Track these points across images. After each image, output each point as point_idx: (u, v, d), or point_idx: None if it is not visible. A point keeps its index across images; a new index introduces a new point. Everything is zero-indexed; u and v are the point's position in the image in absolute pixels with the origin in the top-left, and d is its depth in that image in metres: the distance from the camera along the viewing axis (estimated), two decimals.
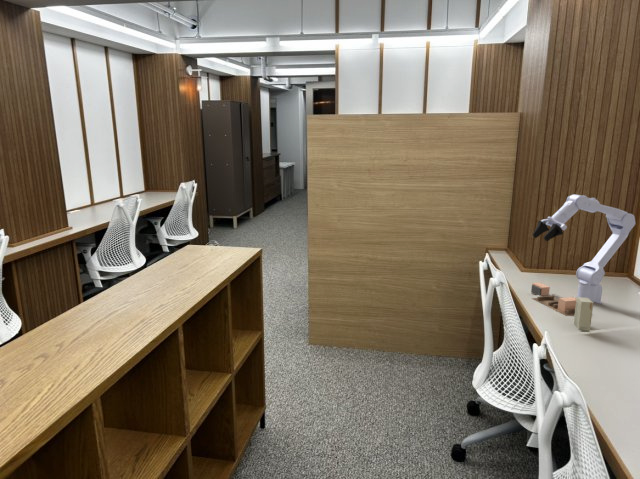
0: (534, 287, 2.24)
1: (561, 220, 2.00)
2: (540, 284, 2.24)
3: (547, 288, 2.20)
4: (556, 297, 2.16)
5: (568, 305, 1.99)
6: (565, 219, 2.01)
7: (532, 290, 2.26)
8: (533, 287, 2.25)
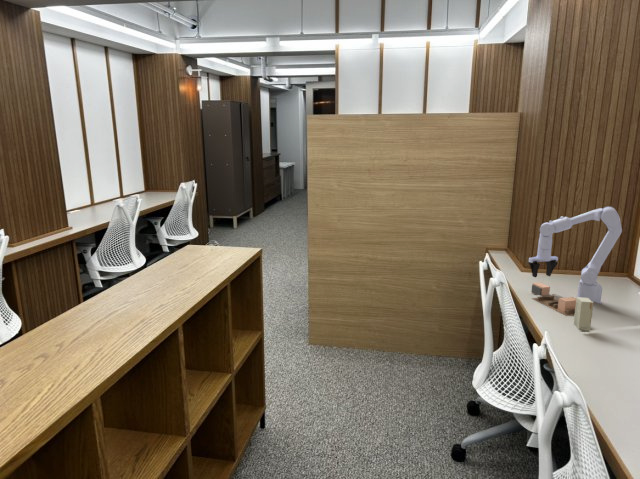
0: (534, 287, 2.24)
1: (538, 253, 2.20)
2: (540, 284, 2.25)
3: (547, 288, 2.21)
4: (556, 297, 2.16)
5: (568, 305, 1.99)
6: (540, 250, 2.19)
7: (532, 290, 2.26)
8: (533, 287, 2.25)
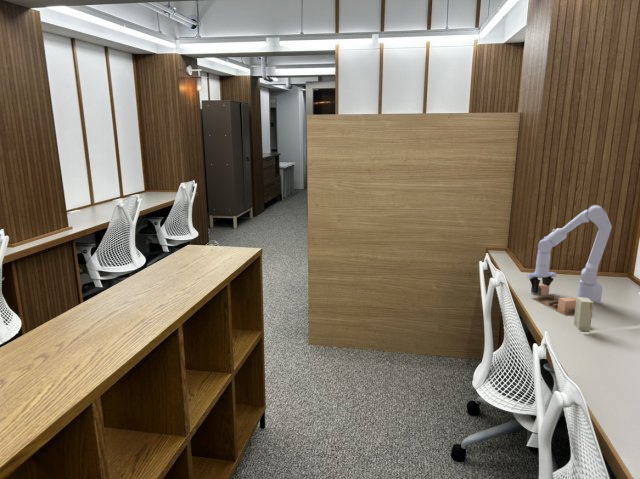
0: None
1: (536, 269, 2.22)
2: (540, 284, 2.24)
3: (547, 288, 2.21)
4: (556, 297, 2.16)
5: (568, 305, 1.99)
6: (538, 267, 2.20)
7: (532, 290, 2.26)
8: None
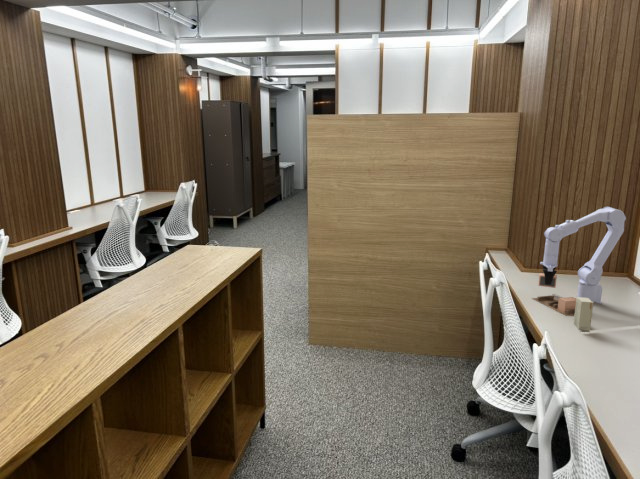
0: None
1: (549, 260, 2.11)
2: None
3: None
4: (556, 297, 2.16)
5: (568, 305, 1.99)
6: (552, 257, 2.10)
7: (541, 282, 2.14)
8: (543, 279, 2.14)
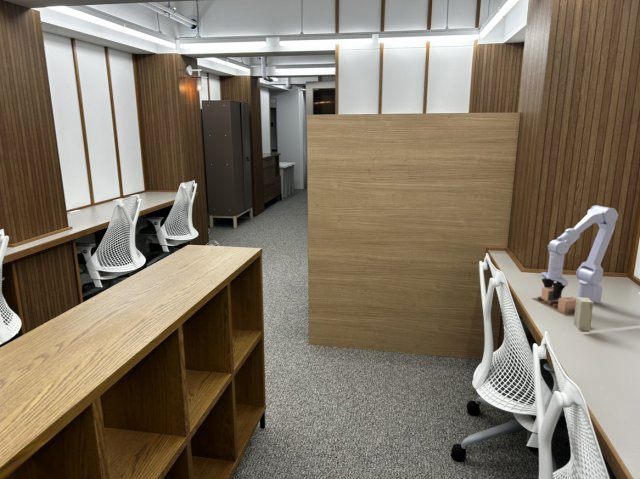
0: (553, 293, 2.08)
1: (558, 274, 2.06)
2: (549, 288, 2.10)
3: None
4: None
5: (568, 305, 1.99)
6: (560, 270, 2.06)
7: (550, 297, 2.08)
8: (552, 294, 2.08)
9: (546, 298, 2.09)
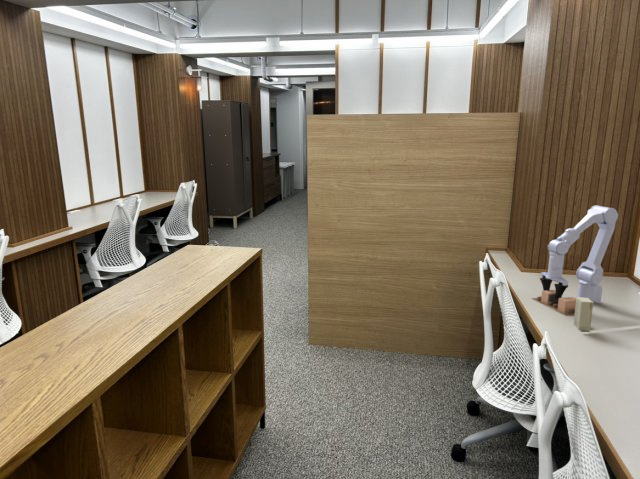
0: (553, 296, 2.08)
1: (558, 274, 2.06)
2: (549, 291, 2.11)
3: None
4: None
5: (568, 305, 1.99)
6: (560, 270, 2.06)
7: (550, 300, 2.08)
8: (552, 297, 2.08)
9: (546, 301, 2.09)
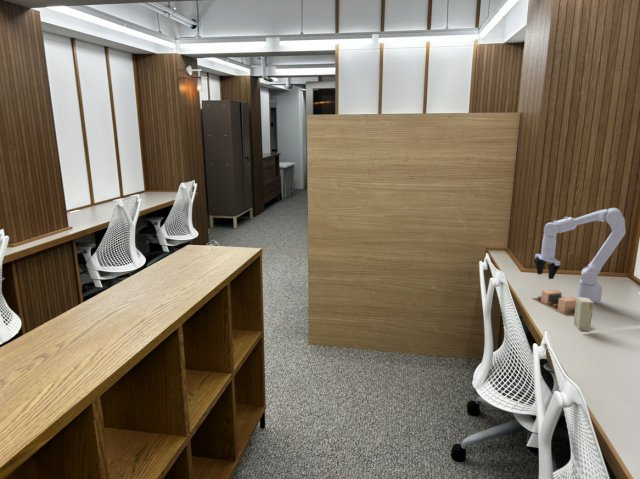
0: (553, 296, 2.08)
1: (551, 255, 2.17)
2: (549, 291, 2.11)
3: None
4: None
5: (568, 305, 1.99)
6: (553, 251, 2.17)
7: (550, 300, 2.08)
8: (552, 297, 2.08)
9: (546, 301, 2.09)
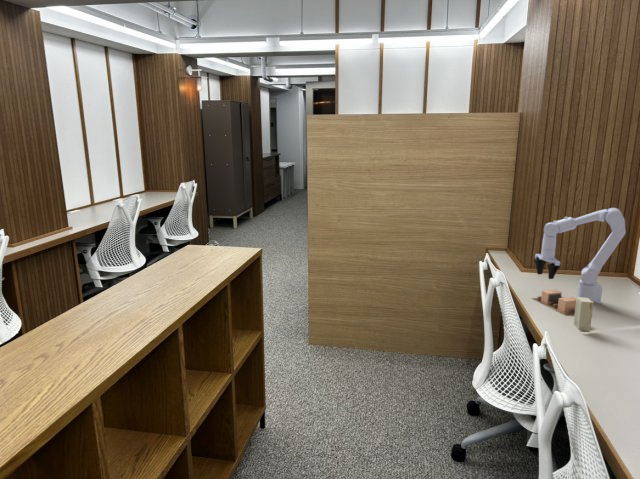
0: (553, 296, 2.08)
1: (551, 255, 2.17)
2: (549, 291, 2.11)
3: None
4: None
5: (568, 305, 1.99)
6: (553, 251, 2.17)
7: (550, 300, 2.08)
8: (552, 297, 2.08)
9: (546, 301, 2.09)
